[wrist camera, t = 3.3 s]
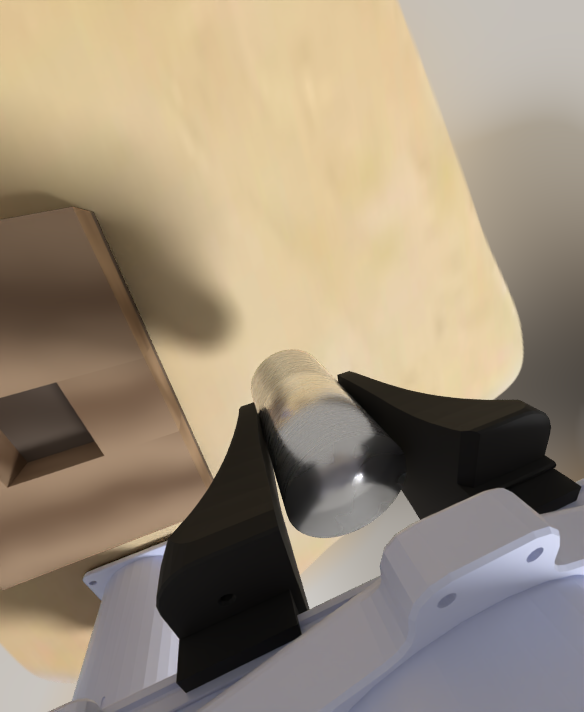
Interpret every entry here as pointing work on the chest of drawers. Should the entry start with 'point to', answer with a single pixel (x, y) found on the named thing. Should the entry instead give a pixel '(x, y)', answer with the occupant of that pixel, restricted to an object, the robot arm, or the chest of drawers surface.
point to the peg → (324, 447)
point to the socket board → (81, 404)
